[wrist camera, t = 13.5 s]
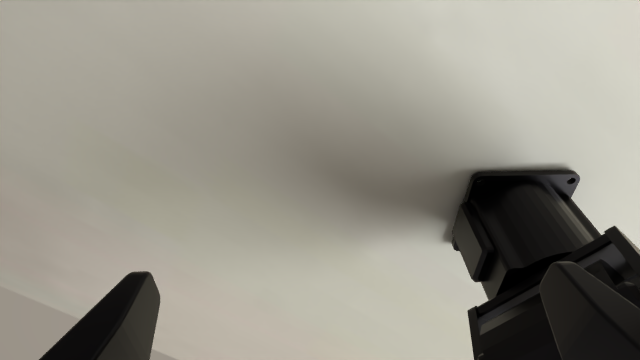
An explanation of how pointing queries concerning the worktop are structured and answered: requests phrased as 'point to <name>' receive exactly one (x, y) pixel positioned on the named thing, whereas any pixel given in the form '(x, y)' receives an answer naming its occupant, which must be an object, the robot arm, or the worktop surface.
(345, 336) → the worktop surface
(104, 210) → the worktop surface
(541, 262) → the robot arm
